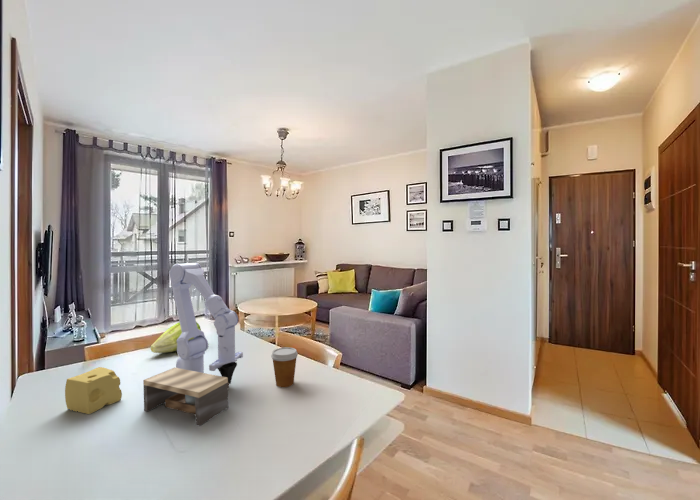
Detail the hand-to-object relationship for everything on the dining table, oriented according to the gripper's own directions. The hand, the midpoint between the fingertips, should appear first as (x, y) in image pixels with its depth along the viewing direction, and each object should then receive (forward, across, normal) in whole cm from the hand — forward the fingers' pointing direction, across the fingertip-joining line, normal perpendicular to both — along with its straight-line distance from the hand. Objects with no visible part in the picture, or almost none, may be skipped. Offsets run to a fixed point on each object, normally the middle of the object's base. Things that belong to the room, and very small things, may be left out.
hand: (227, 383), depth 118 cm
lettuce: (+1, +23, +53) cm, 58 cm away
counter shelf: (+1, -17, 0) cm, 17 cm away
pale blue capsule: (0, -16, -1) cm, 16 cm away
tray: (+1, -10, 0) cm, 10 cm away
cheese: (+1, -26, +30) cm, 40 cm away
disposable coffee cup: (+1, +10, -18) cm, 20 cm away
